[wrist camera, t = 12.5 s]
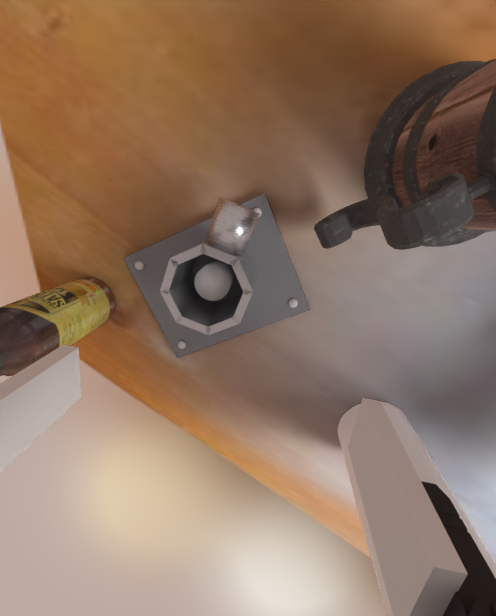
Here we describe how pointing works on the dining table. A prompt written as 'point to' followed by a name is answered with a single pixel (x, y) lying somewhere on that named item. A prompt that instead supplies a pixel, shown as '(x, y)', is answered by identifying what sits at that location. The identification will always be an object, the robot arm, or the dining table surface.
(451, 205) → the tankard
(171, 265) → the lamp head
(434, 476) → the cylinder container
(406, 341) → the dining table surface
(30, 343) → the sauce bottle
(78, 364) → the robot arm
